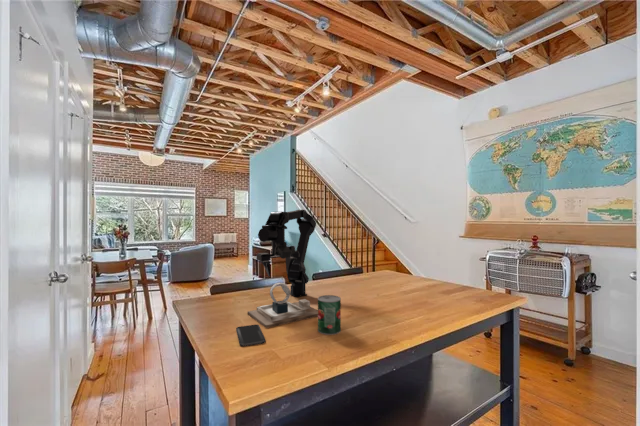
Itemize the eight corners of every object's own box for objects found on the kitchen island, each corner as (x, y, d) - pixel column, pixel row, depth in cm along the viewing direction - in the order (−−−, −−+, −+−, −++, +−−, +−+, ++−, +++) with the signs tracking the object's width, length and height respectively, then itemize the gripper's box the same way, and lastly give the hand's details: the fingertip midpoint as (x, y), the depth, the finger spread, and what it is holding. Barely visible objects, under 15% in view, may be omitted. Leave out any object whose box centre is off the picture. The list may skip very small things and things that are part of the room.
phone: (240, 344, 90) (235, 326, 104) (240, 348, 90) (235, 330, 104) (266, 340, 93) (258, 324, 107) (266, 344, 93) (258, 327, 107)
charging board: (299, 303, 133) (299, 294, 133) (322, 315, 119) (322, 304, 119) (247, 314, 120) (247, 304, 120) (266, 328, 105) (266, 316, 105)
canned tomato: (345, 332, 101) (345, 299, 102) (325, 336, 98) (325, 302, 98) (332, 324, 108) (332, 294, 108) (313, 328, 104) (313, 297, 105)
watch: (292, 311, 117) (292, 283, 118) (272, 314, 114) (272, 285, 114) (287, 307, 122) (287, 280, 122) (268, 310, 119) (268, 282, 119)
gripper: (266, 242, 122) (267, 281, 122) (305, 239, 133) (306, 275, 133) (255, 240, 131) (256, 276, 131) (293, 238, 142) (293, 271, 142)
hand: (278, 274), depth 134 cm, fingers open, 9 cm apart
